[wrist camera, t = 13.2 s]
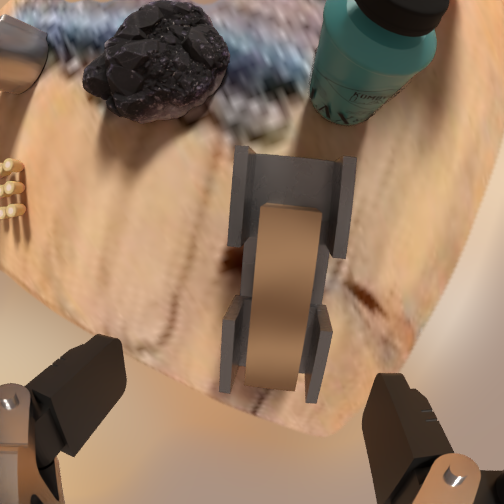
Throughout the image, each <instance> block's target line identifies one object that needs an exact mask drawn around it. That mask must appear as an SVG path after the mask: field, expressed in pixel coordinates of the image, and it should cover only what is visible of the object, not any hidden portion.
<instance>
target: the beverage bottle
mask: <svg viewBox="0 0 504 504" xmlns="http://www.w3.org/2000/svg"><path fill="white" fill-rule="evenodd" d="M448 6H449V0H327V1H326V3H325V7H324V12H323V25H322V30H321V35H320V40H319V45H318V49H317V48H316V49H317V52H316V53H315V54H316V57H315V58H314V59H313V60H315V63H314V64H313V65H314V67H313V68H312V67H311V70H312V71H313V73H312V75H311V73H310V76H312V78H310V79H311V84H309V86H310V96H309V97H310V98H311V99H310V100H311V101H312V104H313V105H314V107H315V108H316V110H317V111H318V112H319V113H320V114H321V115H322V116H323V117H325V118H326V119H328V120H329V122H330V121H331V123H332V122H334V123H337V124H341V125H354V124H358V123H360V122H362V121H363V122H364V121H365V122H366V120H367V119H368V118H370V117H371V116H373V115H374V114H372V113H376V112H375V111H376V110H377V109H378V108H379V107H381V105H382V104H384V103H385V102H387V100H388V99H389V98H390V97H392V95H394V94H395V93H396V92H397V91H398V90H400V88H401V87H403V86H404V85H405V84H406V83H407V82H408V80H410V79H412V77H413V76H414V75H415V74H417V73H418V72H420V71H422V70H423V69H424V68H425V67H427V66H428V65H429V64H430V62H431V61H432V59H433V57H434V55H435V52H436V46H437V40H436V33H435V30H434V29H435V28H436V27H437V25H438V24H439V22H440V20H441V18H442V16H443V15H444V13H445V12H446V10H447V8H448ZM313 56H314V55H313ZM310 79H309V80H310ZM410 82H411V81H410ZM409 84H410V83H409ZM406 87H407V86H406ZM402 89H403V88H402ZM402 89H401V90H402ZM399 92H400V91H399ZM399 92H397V94H398V93H399ZM308 95H309V94H308ZM394 97H395V96H394ZM394 97H392V99H393V98H394ZM389 100H391V99H389ZM389 100H388V101H389ZM311 101H310V102H311ZM318 112H317V113H318ZM377 112H378V111H377ZM319 113H318V114H319ZM320 114H319V115H320ZM321 115H320V116H321ZM325 118H324V119H325ZM365 119H366V120H365ZM328 120H327V121H328ZM337 124H336V125H337Z"/></svg>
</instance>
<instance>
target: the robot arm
mask: <svg viewBox="0 0 504 504" xmlns="http://www.w3.org/2000/svg"><path fill="white" fill-rule="evenodd" d="M46 36H47V33H46V32H44V31H41V30H39V29H37V28H35V27H33V26H31V25H29V24H27V23H24V22H22V21H20V20H18V19H16V18H13V17H11V16H9V15H6V14H4V15H2V16H0V91H4V92H7V93H14V94H20V93H22V92H24V91H26V90H27V89H28V88H29V87H30V86H31V85H32V84H33V83H34V82H35V81H36V79H37V78H38V76H39V74H40V73H41V71H42V69H43V67H44V64H45V62H46V58H47V54H48V44H47V41H46ZM126 381H127V379H126V371H125V365H124V357H123V349H122V343H121V341H120V340H119V339H117V338H113V337H109V336H105V335H101V334H97V335H95V336H94V337H93V338H91V339H90V340H89V341H88V342H86V343H85V344H82V345H80V346H78V347H75V348H73V349H70V350H69V351H68V352H66V353H65V354H64V355H63V356H61V357H60V359H57V360H56V361H55V362H54V363H53V365H50V366H49V367H48V368H46V369H45V370H44V371H43V372H42V373H40V374H39V375H38V376H37V377H35V378H34V379H33V380H32V381H30V383H28V384H27V385H26V386H22V385H19V384H13V383H10V384H4V385H1V386H0V504H65V501H64V496H63V490H62V483H61V476H60V468H59V461H58V458H57V455H58V453H59V452H60V451H62V452H64V453H66V454H68V455H70V456H72V457H75V455H76V454H77V453H78V451H79V450H80V449H81V448H82V446H83V445H84V444H85V442H86V441H87V440H88V439H89V437H90V436H91V434H92V433H93V432H94V431H95V429H96V428H97V427H98V426H99V424H100V423H101V422H102V420H103V419H104V418H105V417H106V415H107V414H108V413H109V412H110V410H111V409H112V408H113V406H114V405H115V404H116V403H117V401H118V400H119V399H120V398H121V396H122V395H123V393H124V391H125V388H126ZM362 430H363V435H364V440H365V444H366V449H367V454H368V458H369V463H370V468H371V473H372V478H373V483H374V489H375V494H376V499H377V504H504V470H503V471H485V470H480V469H479V467H478V465H477V464H476V463H475V462H474V461H473V460H472V459H471V458H469V457H467V456H465V455H462V454H458V453H454V451H453V449H452V447H451V445H450V443H449V441H448V439H447V437H446V435H445V433H444V431H443V429H442V427H441V425H440V423H439V421H437V417H436V415H435V413H434V412H432V408H431V406H430V404H429V402H428V400H427V398H426V397H425V396H423V395H422V394H421V393H420V392H419V391H418V390H416V389H410V387H409V385H408V383H407V381H406V380H405V377H404V376H403V374H401V373H378V374H377V375H376V377H375V380H374V383H373V386H372V389H371V392H370V395H369V398H368V401H367V404H366V407H365V409H364V413H363V418H362Z"/></svg>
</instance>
